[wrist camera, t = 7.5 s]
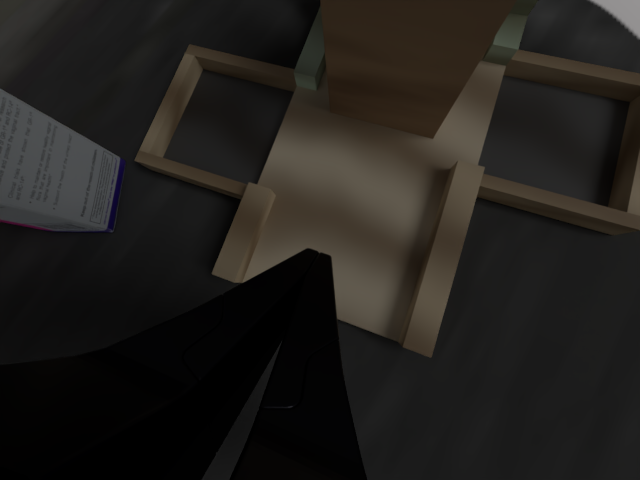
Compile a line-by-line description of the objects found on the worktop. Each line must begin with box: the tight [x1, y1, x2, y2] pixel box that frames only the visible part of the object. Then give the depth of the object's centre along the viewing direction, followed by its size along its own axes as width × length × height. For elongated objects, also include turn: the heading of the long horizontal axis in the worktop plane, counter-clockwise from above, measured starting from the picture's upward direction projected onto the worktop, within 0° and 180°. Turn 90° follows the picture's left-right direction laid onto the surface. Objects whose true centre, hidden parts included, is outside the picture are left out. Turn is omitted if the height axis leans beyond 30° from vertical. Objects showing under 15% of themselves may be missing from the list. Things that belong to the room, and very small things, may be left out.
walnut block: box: [320, 0, 517, 139], centre depth 13 cm, size 7×7×9 cm
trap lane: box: [134, 0, 640, 358], centre depth 16 cm, size 23×31×4 cm
